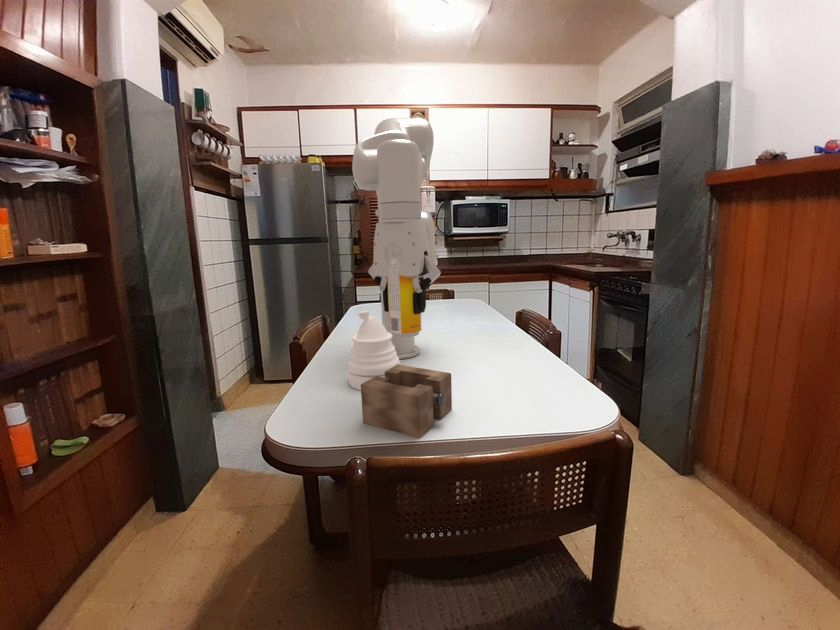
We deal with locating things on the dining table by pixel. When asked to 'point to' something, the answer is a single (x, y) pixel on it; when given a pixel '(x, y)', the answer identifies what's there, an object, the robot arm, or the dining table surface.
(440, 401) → the plunger
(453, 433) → the dining table surface
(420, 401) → the brown wooden clamp block
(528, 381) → the dining table surface
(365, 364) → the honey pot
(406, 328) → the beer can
